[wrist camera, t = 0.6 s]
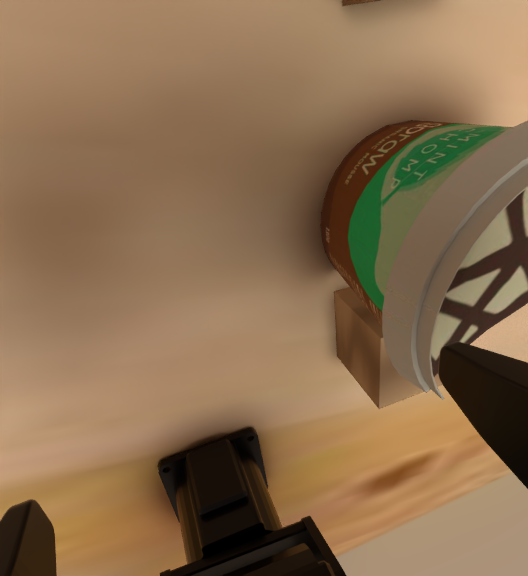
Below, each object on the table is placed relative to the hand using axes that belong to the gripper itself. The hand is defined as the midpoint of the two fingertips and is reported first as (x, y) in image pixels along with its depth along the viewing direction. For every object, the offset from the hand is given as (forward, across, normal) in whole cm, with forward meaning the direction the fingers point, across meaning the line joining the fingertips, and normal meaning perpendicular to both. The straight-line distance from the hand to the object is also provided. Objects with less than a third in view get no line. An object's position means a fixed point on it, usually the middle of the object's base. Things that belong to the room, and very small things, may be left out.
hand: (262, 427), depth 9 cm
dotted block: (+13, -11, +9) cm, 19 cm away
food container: (+13, -11, 0) cm, 17 cm away
